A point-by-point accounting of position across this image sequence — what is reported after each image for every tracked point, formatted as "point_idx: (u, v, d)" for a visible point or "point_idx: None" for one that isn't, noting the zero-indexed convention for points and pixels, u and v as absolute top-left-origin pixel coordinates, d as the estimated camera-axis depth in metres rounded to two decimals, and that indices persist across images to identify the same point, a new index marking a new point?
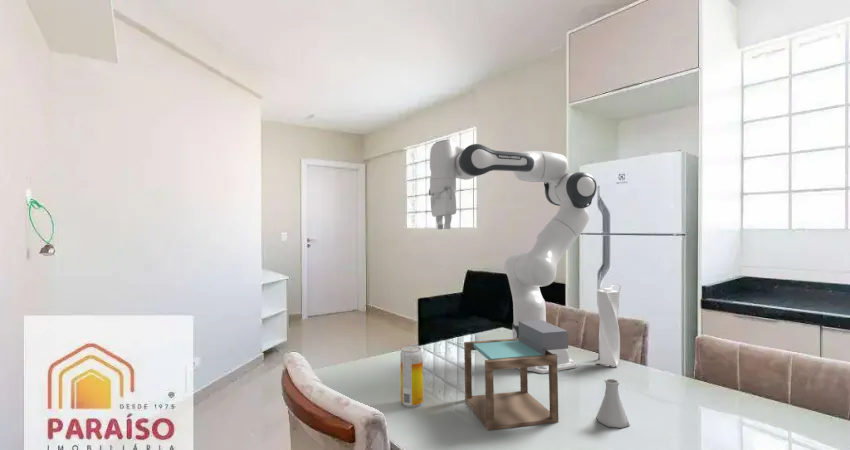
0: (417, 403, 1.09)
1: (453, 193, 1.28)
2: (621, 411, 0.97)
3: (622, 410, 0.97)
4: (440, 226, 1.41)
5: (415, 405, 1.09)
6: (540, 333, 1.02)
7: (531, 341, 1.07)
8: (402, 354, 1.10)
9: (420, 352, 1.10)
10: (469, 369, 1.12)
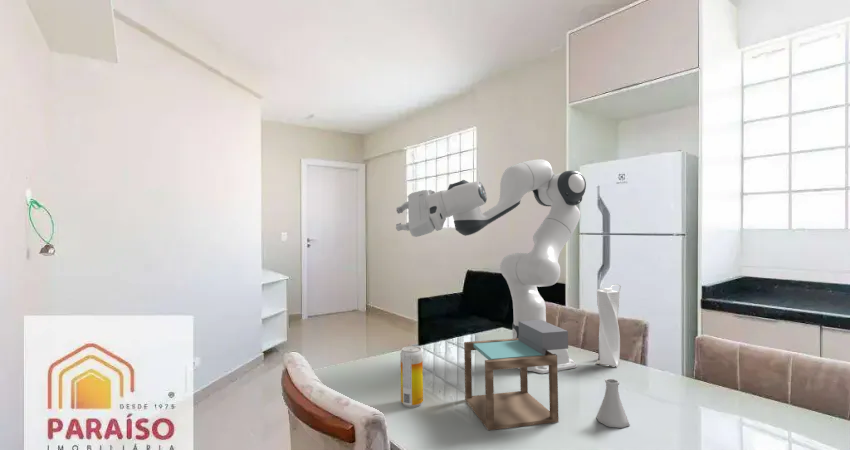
0: (417, 403, 1.09)
1: None
2: (621, 411, 0.97)
3: (622, 410, 0.97)
4: None
5: (415, 405, 1.09)
6: (540, 333, 1.02)
7: (531, 341, 1.07)
8: (402, 354, 1.10)
9: (420, 352, 1.10)
10: (469, 369, 1.12)
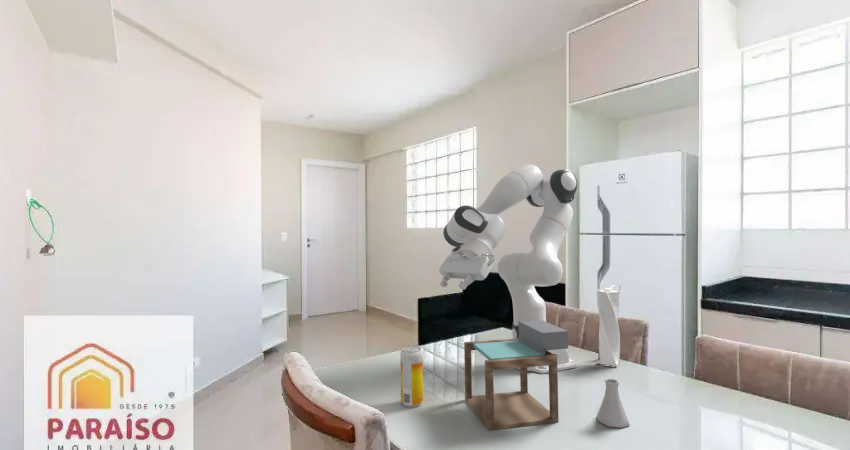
0: (417, 403, 1.09)
1: (491, 263, 1.24)
2: (621, 411, 0.97)
3: (622, 410, 0.97)
4: (445, 283, 1.30)
5: (415, 405, 1.09)
6: (540, 333, 1.02)
7: (531, 341, 1.07)
8: (402, 354, 1.10)
9: (420, 352, 1.10)
10: (469, 369, 1.12)
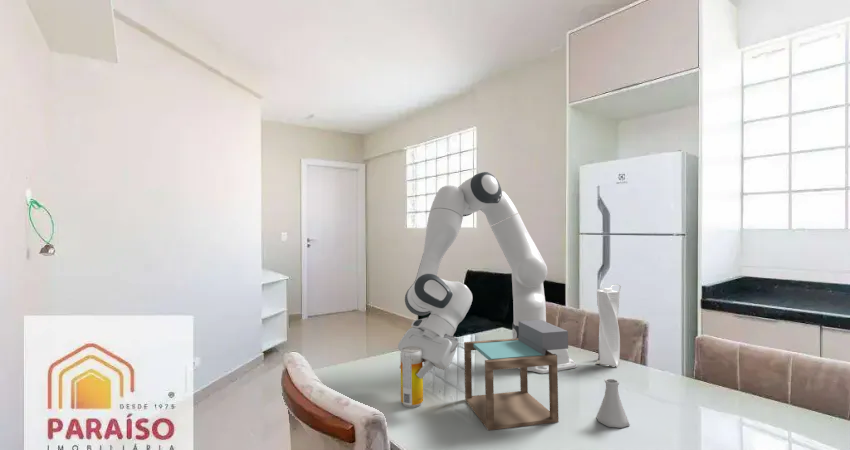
0: (417, 403, 1.09)
1: None
2: (621, 411, 0.97)
3: (622, 410, 0.97)
4: None
5: (415, 405, 1.09)
6: (540, 333, 1.02)
7: (531, 341, 1.07)
8: (402, 354, 1.10)
9: (420, 352, 1.10)
10: (469, 369, 1.12)
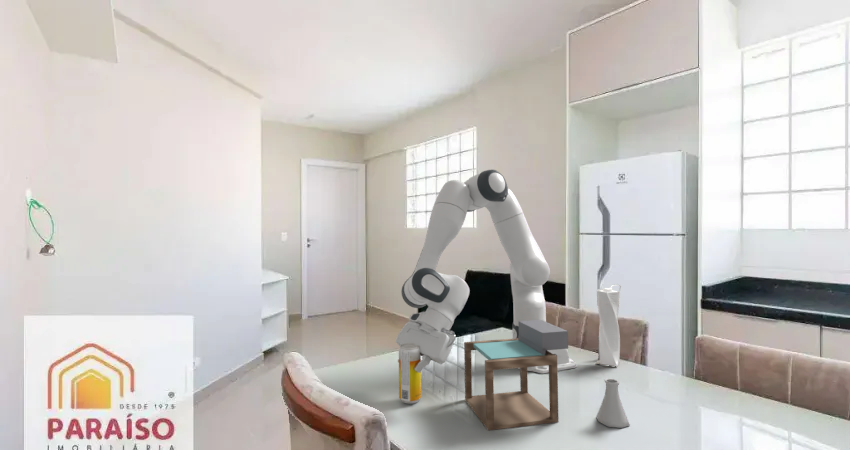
0: (415, 399, 1.10)
1: None
2: (621, 411, 0.97)
3: (622, 410, 0.97)
4: None
5: (413, 401, 1.10)
6: (540, 333, 1.02)
7: (531, 341, 1.07)
8: (400, 351, 1.11)
9: (418, 349, 1.11)
10: (469, 369, 1.12)
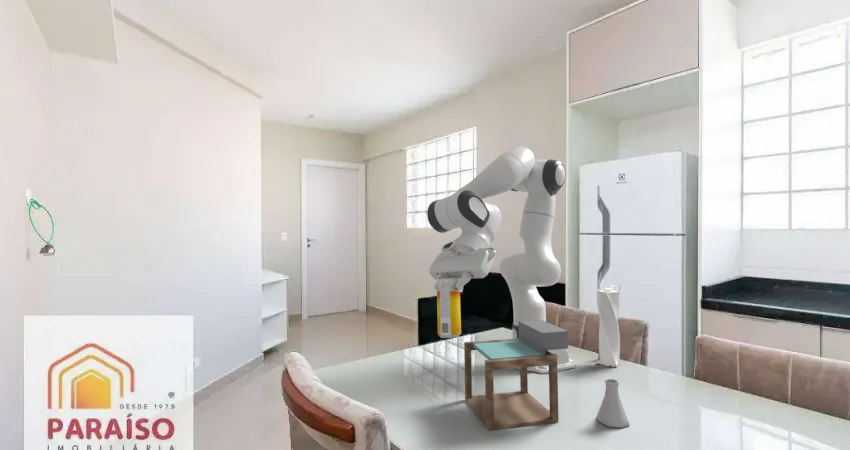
0: (456, 333, 1.03)
1: None
2: (621, 411, 0.97)
3: (622, 410, 0.97)
4: None
5: (454, 336, 1.03)
6: (540, 333, 1.02)
7: (531, 341, 1.07)
8: (439, 282, 1.05)
9: None
10: (469, 369, 1.12)
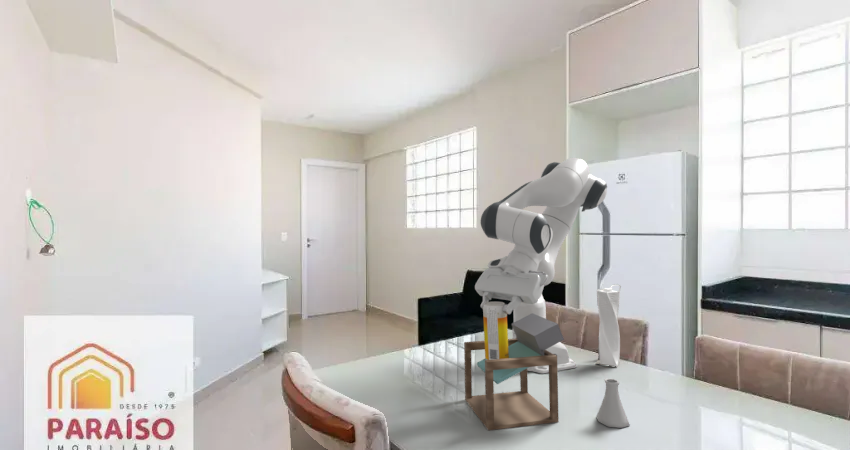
0: None
1: None
2: (621, 411, 0.97)
3: (622, 410, 0.97)
4: None
5: None
6: (533, 336, 1.02)
7: (528, 343, 1.07)
8: (486, 308, 1.05)
9: None
10: (469, 369, 1.12)
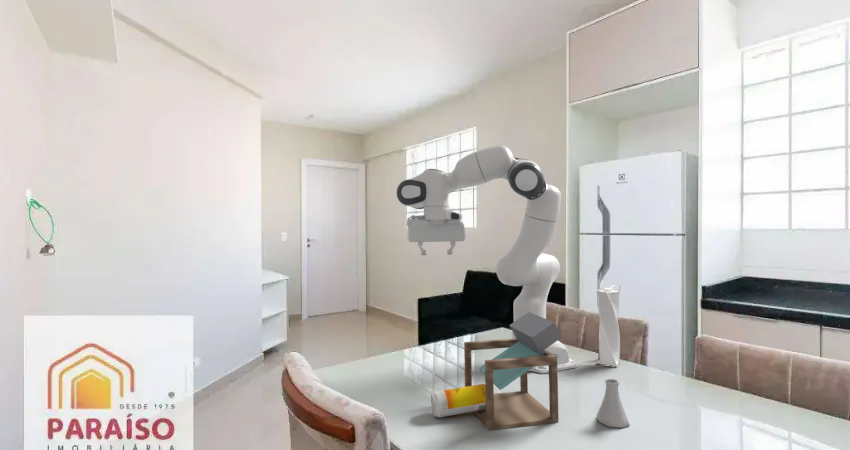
0: None
1: (411, 222, 1.39)
2: (621, 411, 0.97)
3: (622, 410, 0.97)
4: (447, 251, 1.42)
5: None
6: (530, 337, 1.02)
7: (528, 343, 1.07)
8: None
9: (435, 398, 1.02)
10: (469, 369, 1.12)
